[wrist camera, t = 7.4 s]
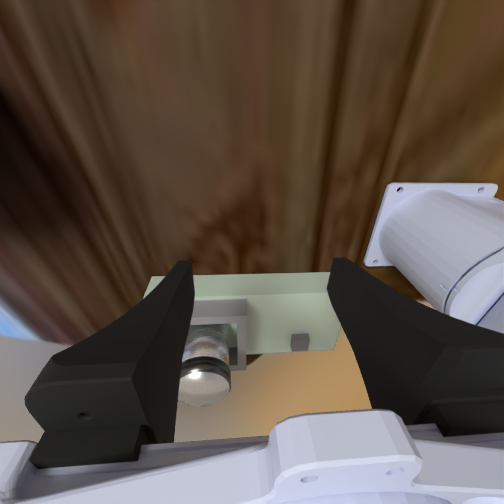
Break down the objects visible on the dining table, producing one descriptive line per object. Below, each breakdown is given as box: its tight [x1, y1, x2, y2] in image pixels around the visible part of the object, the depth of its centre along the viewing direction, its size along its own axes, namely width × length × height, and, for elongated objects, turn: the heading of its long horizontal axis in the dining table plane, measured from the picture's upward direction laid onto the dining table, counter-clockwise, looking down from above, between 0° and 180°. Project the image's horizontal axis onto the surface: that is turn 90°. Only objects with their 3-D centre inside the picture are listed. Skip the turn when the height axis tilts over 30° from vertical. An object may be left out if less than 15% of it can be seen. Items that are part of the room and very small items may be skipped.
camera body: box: [143, 272, 341, 371], centre depth 25 cm, size 18×8×5 cm, turn 88°
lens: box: [178, 324, 231, 406], centre depth 21 cm, size 4×4×6 cm
